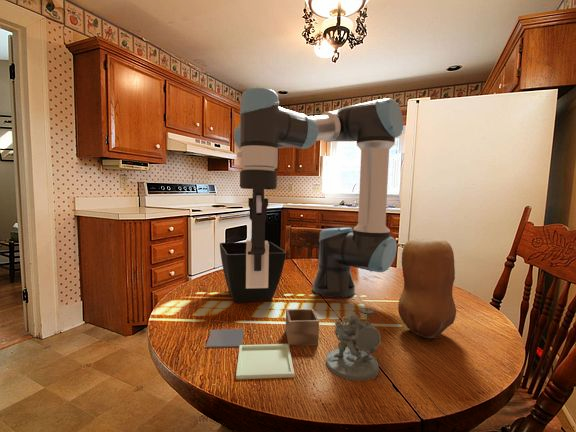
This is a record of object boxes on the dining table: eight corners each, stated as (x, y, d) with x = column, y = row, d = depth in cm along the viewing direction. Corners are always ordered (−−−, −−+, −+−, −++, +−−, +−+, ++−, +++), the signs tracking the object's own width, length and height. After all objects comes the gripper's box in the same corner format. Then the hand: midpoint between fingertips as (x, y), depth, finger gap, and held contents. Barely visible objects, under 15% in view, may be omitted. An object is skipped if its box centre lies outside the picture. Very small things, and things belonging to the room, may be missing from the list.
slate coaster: (243, 331, 74) (243, 329, 74) (241, 348, 66) (242, 345, 66) (211, 332, 73) (211, 329, 73) (205, 349, 65) (205, 346, 65)
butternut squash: (399, 319, 84) (404, 232, 82) (452, 329, 78) (459, 237, 76) (394, 340, 72) (400, 239, 70) (457, 355, 66) (465, 245, 64)
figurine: (321, 352, 66) (323, 300, 65) (368, 351, 66) (370, 300, 66) (332, 383, 55) (335, 321, 54) (388, 381, 56) (391, 320, 55)
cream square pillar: (266, 281, 64) (267, 240, 64) (268, 288, 60) (268, 244, 59) (245, 281, 64) (246, 240, 63) (245, 288, 59) (245, 244, 58)
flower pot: (285, 302, 94) (287, 251, 93) (226, 309, 88) (227, 253, 87) (269, 284, 112) (270, 241, 111) (218, 289, 106) (219, 242, 104)
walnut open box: (312, 331, 75) (313, 309, 75) (318, 346, 68) (319, 321, 68) (285, 332, 74) (286, 309, 74) (288, 346, 67) (288, 321, 67)
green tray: (288, 348, 67) (288, 343, 67) (294, 378, 56) (294, 373, 56) (239, 349, 66) (239, 345, 66) (235, 380, 55) (236, 375, 55)
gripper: (241, 171, 68) (240, 270, 70) (238, 165, 51) (236, 297, 53) (273, 172, 69) (271, 270, 71) (281, 167, 52) (278, 296, 54)
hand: (256, 281), depth 62 cm, fingers closed on cream square pillar, 5 cm apart
